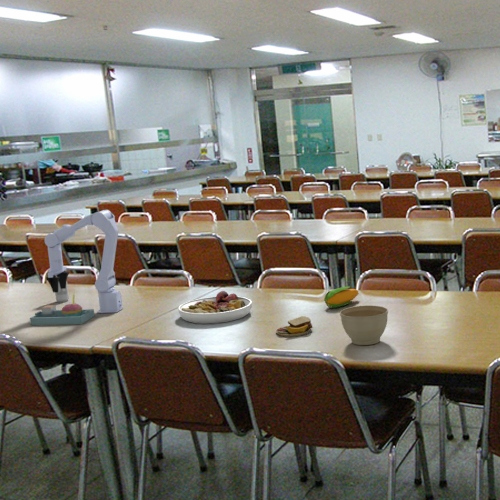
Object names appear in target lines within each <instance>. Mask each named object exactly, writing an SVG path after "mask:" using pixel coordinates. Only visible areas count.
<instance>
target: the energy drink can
mask: <svg viewBox="0 0 500 500" xmlns="http://www.w3.org/2000/svg"><path fill="white" fill-rule="evenodd" d="M55 276H56V277H57V275H55ZM68 288H69V287H68V281H67V282H66V288H65V289H61V288H60V284H59V283H58V292H55V293H54V294H55V300H56V301H57V303H65V302H68V301H69V300H70V295H69V289H68Z"/></svg>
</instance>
